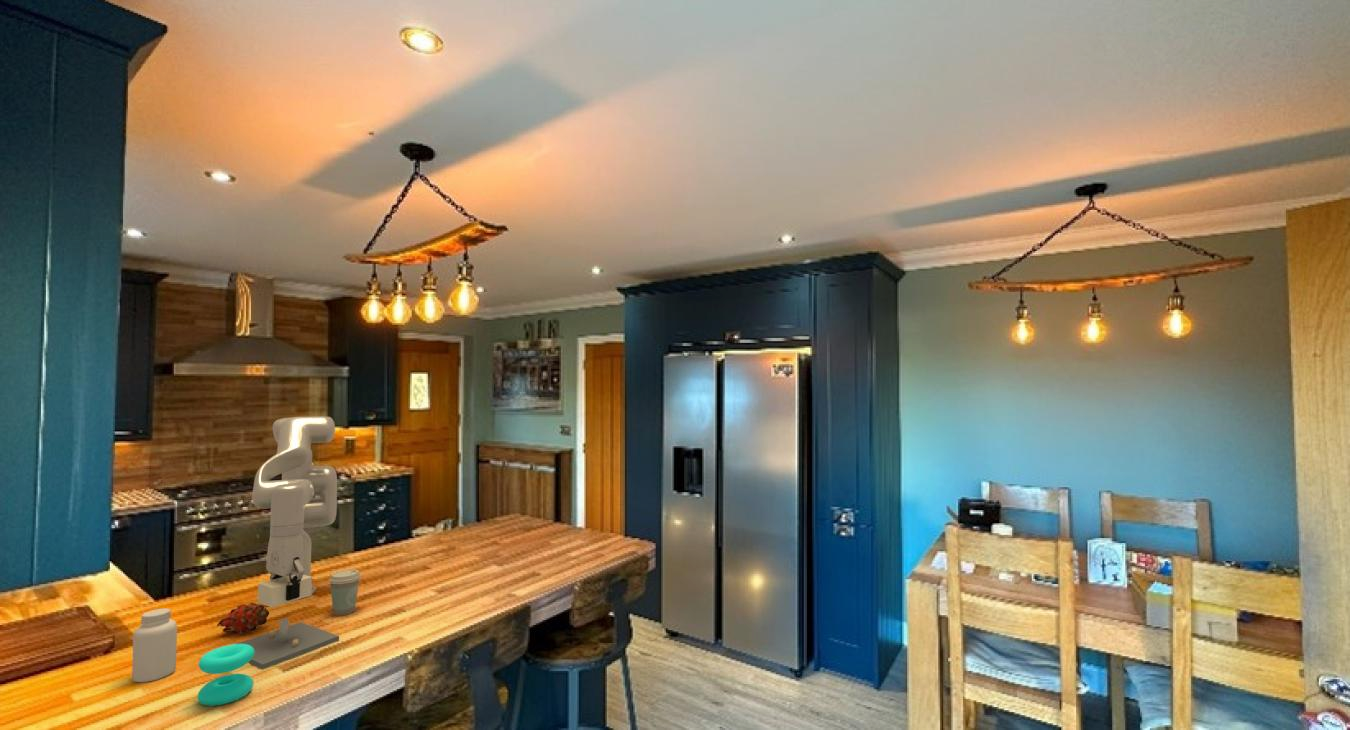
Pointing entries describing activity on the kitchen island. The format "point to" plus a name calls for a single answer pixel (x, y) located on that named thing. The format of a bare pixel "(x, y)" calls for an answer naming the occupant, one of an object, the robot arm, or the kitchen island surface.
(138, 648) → the pill bottle
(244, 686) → the donuts
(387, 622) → the kitchen island surface
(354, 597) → the coffee cup
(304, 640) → the pin plate
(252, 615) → the dragon fruit
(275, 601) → the flange block
